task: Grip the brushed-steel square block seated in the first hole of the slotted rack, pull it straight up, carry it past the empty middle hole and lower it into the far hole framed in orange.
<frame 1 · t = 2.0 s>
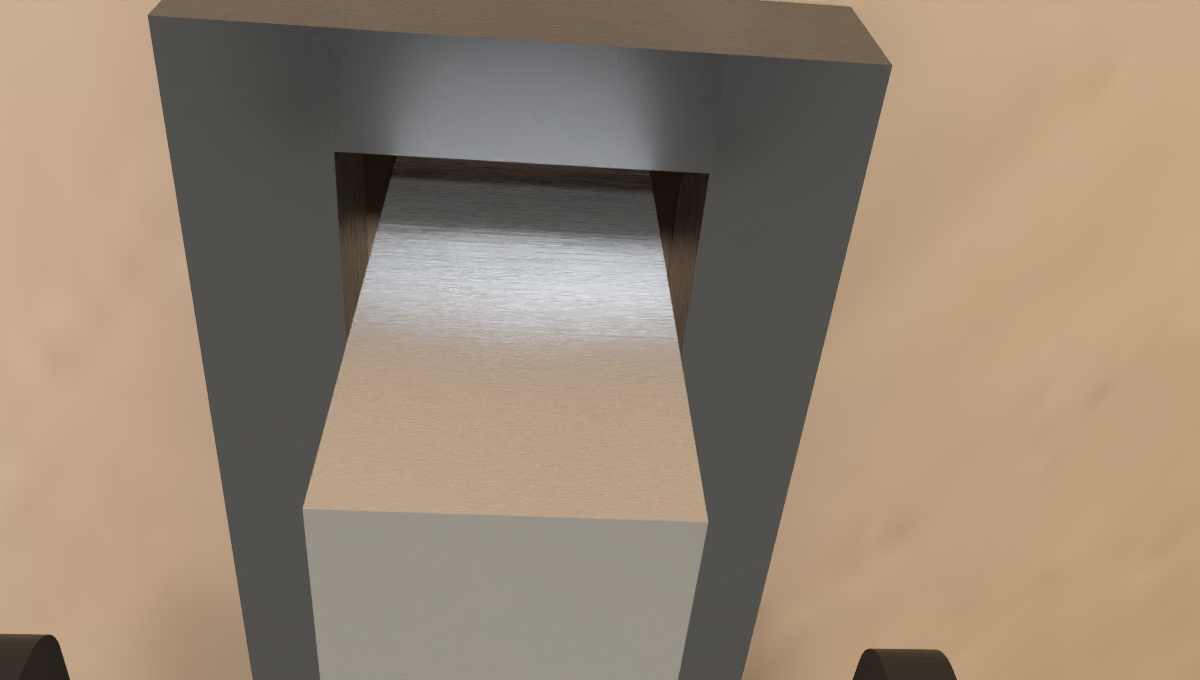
steel block: (520, 238, 19), resting in slotted rack
slotted rack: (505, 556, 24), on the table
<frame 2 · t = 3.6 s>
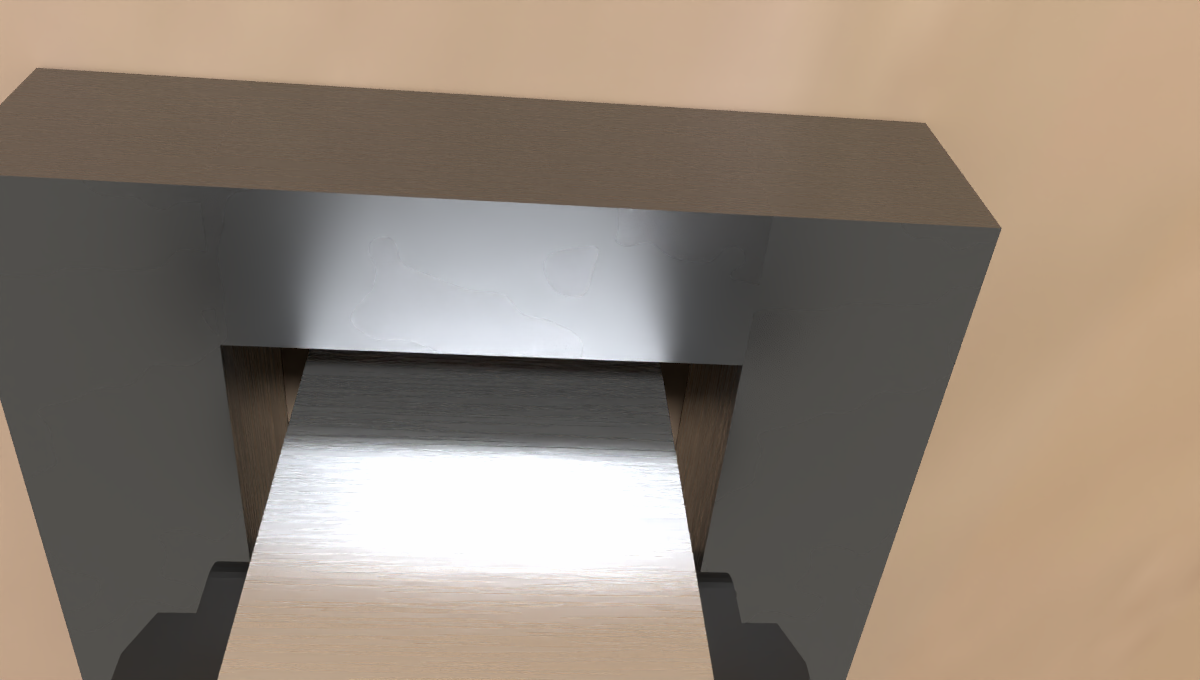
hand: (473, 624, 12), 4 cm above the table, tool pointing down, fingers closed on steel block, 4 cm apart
steel block: (486, 405, 15), resting in slotted rack, touching gripper
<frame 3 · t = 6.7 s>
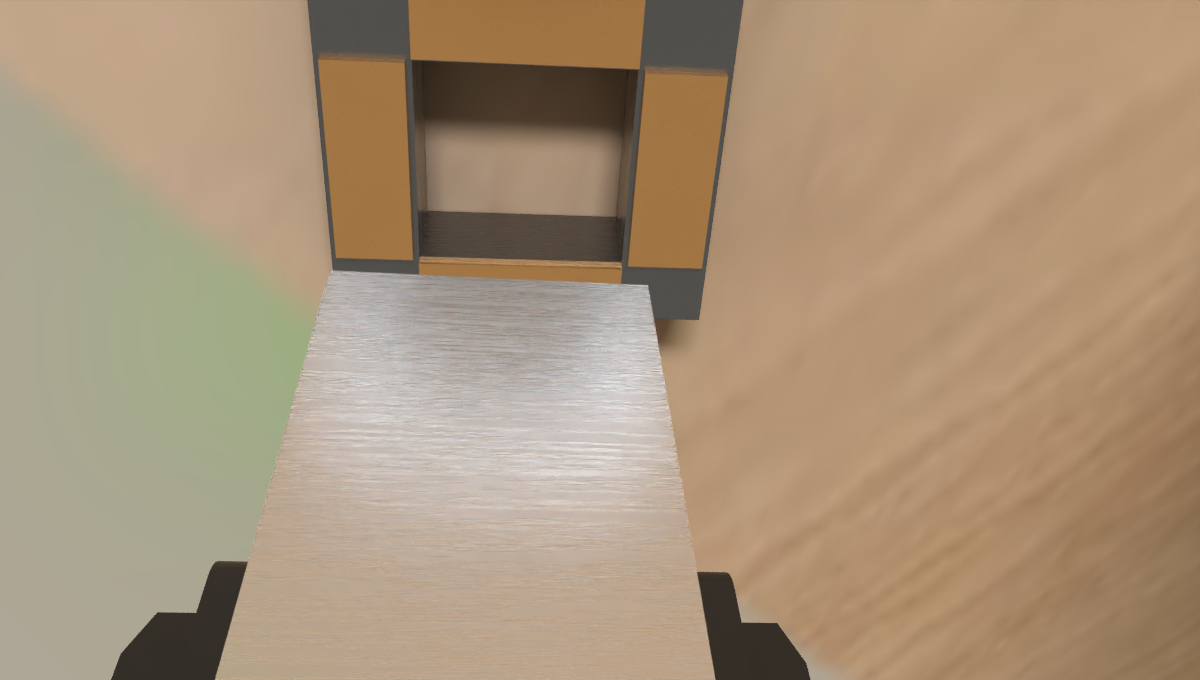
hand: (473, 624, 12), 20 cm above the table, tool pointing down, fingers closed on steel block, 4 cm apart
steel block: (486, 401, 15), point 16 cm above the table, touching gripper
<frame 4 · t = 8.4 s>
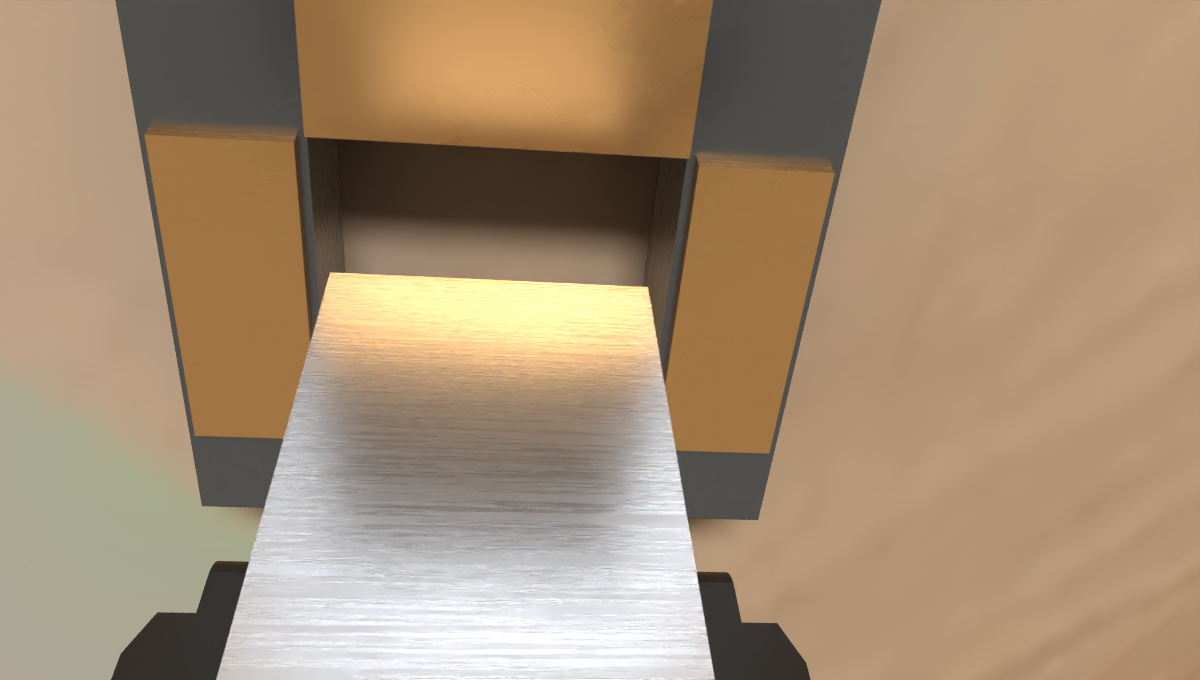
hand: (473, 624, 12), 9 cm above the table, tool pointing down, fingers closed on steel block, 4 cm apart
steel block: (486, 403, 15), point 5 cm above the table, touching gripper
when the fingers open (5 cm above the table, at t = 9.8 s): steel block drops 1 cm, resting in slotted rack.
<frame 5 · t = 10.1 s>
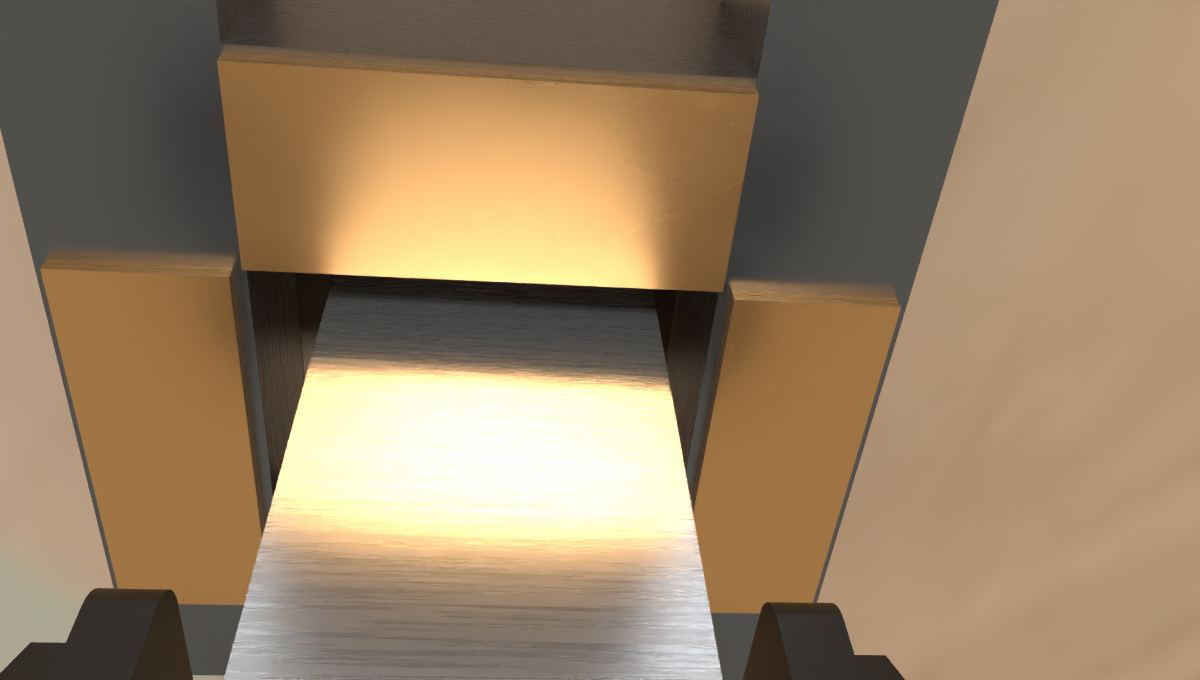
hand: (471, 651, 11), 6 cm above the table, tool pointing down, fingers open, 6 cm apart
steel block: (491, 340, 16), resting in slotted rack
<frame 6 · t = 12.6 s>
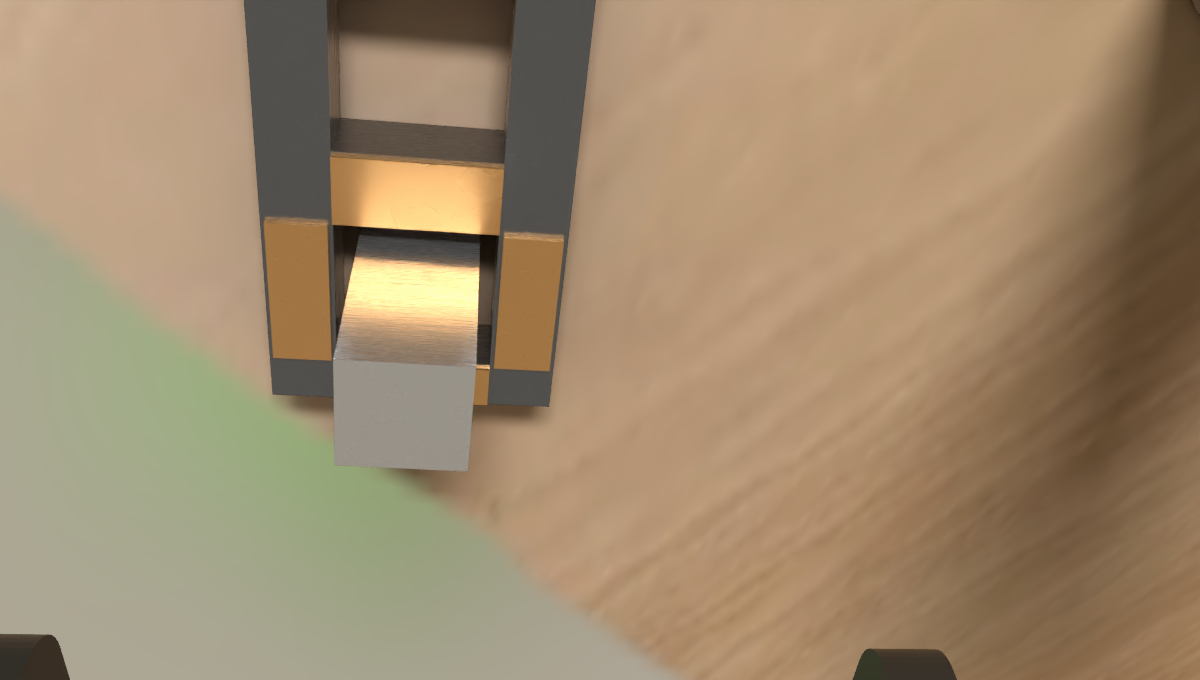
steel block: (421, 258, 39), resting in slotted rack
slotted rack: (425, 46, 34), on the table
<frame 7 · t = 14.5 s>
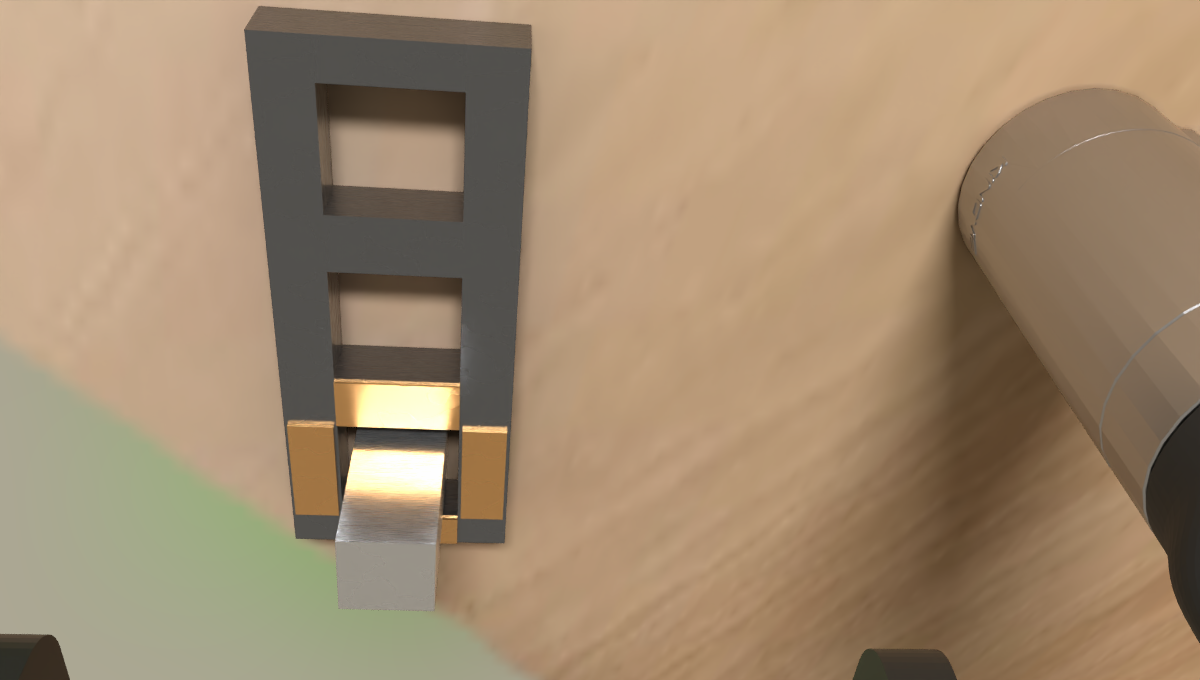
steel block: (405, 435, 52), resting in slotted rack
slotted rack: (401, 297, 47), on the table
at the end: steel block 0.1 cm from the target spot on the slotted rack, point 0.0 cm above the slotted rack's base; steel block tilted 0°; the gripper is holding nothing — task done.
